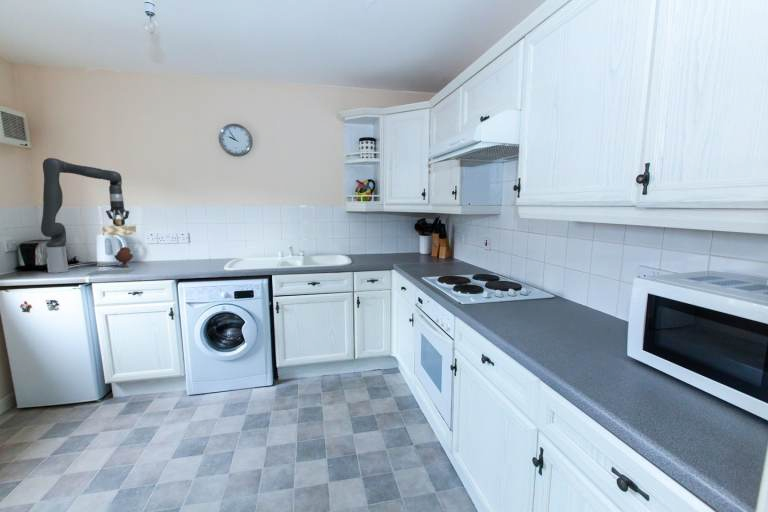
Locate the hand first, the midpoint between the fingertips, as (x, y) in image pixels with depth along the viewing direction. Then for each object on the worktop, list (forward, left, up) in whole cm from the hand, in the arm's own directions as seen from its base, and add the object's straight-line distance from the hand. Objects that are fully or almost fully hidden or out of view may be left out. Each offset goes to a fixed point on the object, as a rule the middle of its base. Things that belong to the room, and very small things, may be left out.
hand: (119, 224), depth 245 cm
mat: (-1, -16, -31) cm, 35 cm away
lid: (0, 0, -7) cm, 7 cm away
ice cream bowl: (0, +2, -32) cm, 32 cm away
